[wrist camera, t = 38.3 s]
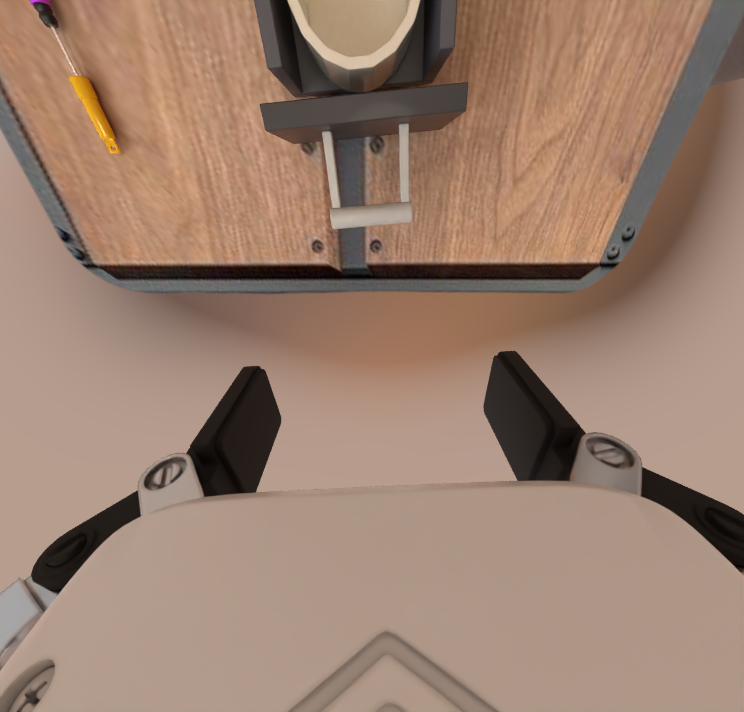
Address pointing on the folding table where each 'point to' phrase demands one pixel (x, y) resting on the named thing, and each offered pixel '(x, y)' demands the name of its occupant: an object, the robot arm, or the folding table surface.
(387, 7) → the ramekin
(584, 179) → the folding table surface
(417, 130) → the dark grey drawer
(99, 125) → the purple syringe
